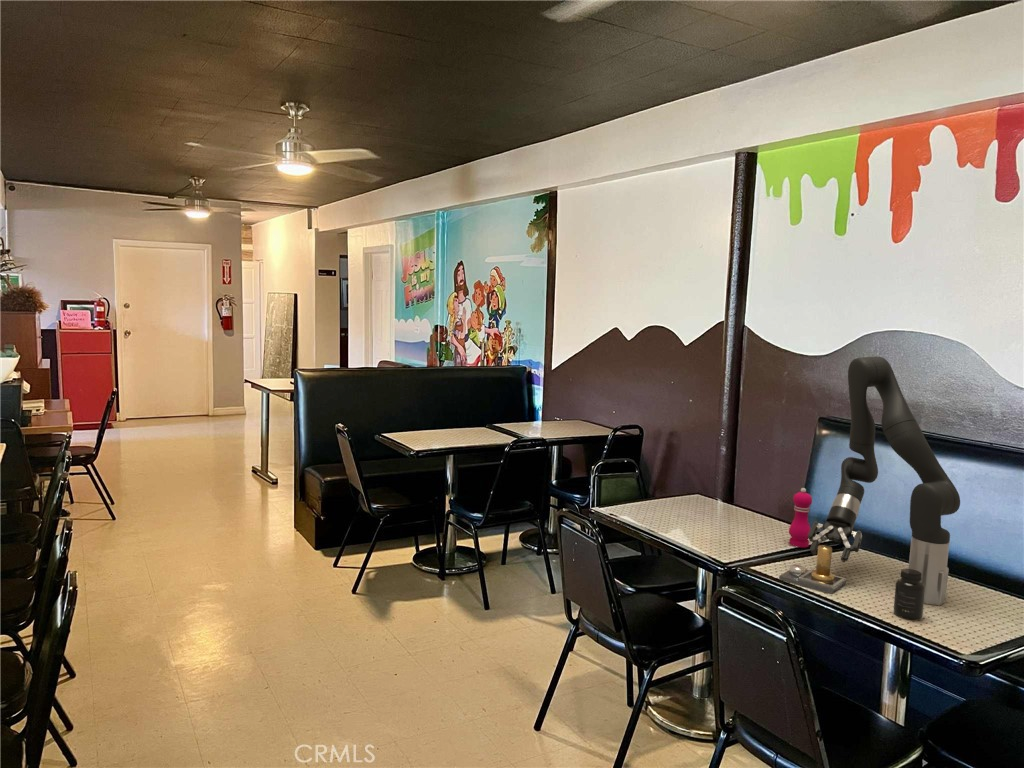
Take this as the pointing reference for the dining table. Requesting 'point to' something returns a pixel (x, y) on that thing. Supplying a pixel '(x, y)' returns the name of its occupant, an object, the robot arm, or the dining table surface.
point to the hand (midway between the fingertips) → (827, 556)
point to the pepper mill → (800, 520)
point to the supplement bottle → (909, 595)
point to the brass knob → (823, 565)
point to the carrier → (803, 578)
